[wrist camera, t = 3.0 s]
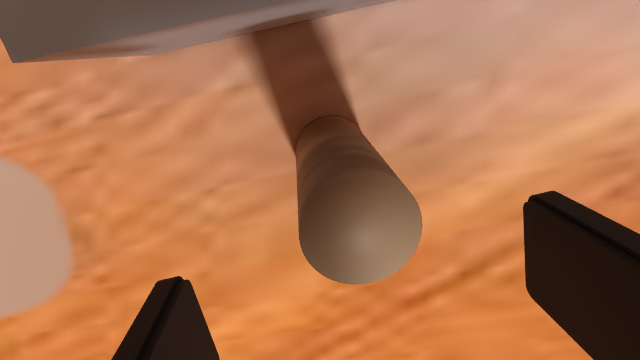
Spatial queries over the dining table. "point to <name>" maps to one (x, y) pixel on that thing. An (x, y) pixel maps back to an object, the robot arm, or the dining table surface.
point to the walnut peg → (351, 205)
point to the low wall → (143, 24)
